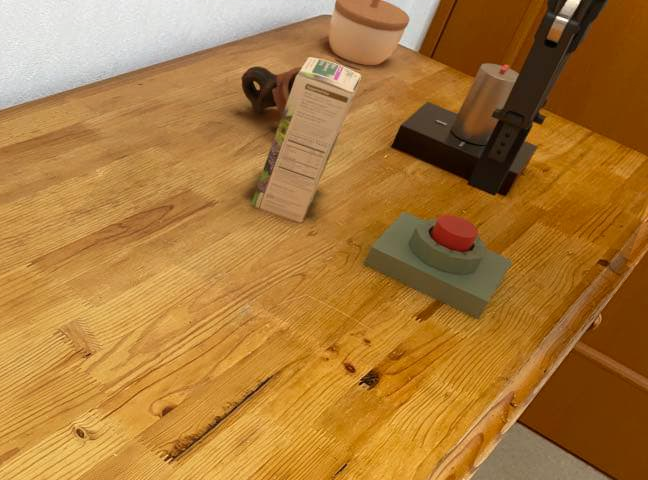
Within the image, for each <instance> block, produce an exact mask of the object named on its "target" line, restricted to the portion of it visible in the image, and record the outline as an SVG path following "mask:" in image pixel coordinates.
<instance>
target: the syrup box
mask: <svg viewBox="0 0 648 480" xmlns="http://www.w3.org/2000/svg"><path fill="white" fill-rule="evenodd" d="M301 67H302V68H301V70H300V71H299V73H298V75H297V76H296V78H295V81H294V84H293V86H292V89H291V92H290V95H289V98H288V101H287V104H286V106H285V109H284V112H283V115H282V116H281V117H280V120H279V124H278V126H277V128H276V130H277V132H276V131H275V133H276V135H274V138H273V141H272V143H271V146H270V149H269V152H268V155H267V158H266V160H265V163H264V166H263V169H262V172H261V175H260V177H259V181H258V183H257V186H256V189H255V192H254V195H253V197H252V201H251V203H250V205H251V207H252V208H254V209H257V210H260V211H264V212H266V213H269V214H272V215H274V216H277V217H280V218H284V219H287V220H290V221H292V222H296V223H298V224H303V222H304V219H305V217H306V215H307V213H308V210H309V208H310V206H311V204H312V202H313V199H314V197H315V194H316V192H317V189H318V187H319V185H320V182H321V180H322V178H323V175H324V172H325V170H326V167H327V164H328V163H329V160H330V157H331V155H332V153H333V150H334V148H335V145H336V143H337V140H338V138H339V135H340V132H341V131H342V127H343V125H344V123H345V120H346V117H347V115H348V112H349V110H350V108H351V105H352V103H353V100H354V98H355V96H356V95H355V94H356V92H357V89H358V87H359V85H360V82H361V79H362V77H363V76H362V75H361V74H360V73H359V72H356V71H355V70H354V69H353V70H352V69H351V68H349V67H347V66H345V65H342V64H338V63H335V62H333V61H330V60H326V59H323V58H318V57H311V56H308V57H307V58H306V61H305V62H304V63H303V65H302V66H301Z"/></svg>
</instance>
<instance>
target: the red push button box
mask: <svg viewBox="0 0 648 480" xmlns="http://www.w3.org/2000/svg"><path fill="white" fill-rule="evenodd" d="M437 220H438V218H430V219H422V218H420V217H418V216H416V215H414V214H411V213H409V212H407V211H405V210H404V211H402V212H401V214H399V216H398V217H397V218H396V219H395V220H394V221H393V222H392V223H391V224H390V226H388V228H387V229H386V230H385V231H384V232H383V233H382V234H381V235H380V237H379V238H377V240H376V241H374V243H373V244H372V245H371V246H370V248H369V250H368V252H367V255H366V257H365V259H364V262H363V265H364V266H366V267H369V268H370V269H372V270H375V271H376V272H379V273H380V274H383V275H385V276H387V277H389V278H391V279H392V280H395V281H397V282H399V283H401V284H403V285H405V286H408V287H410V288H412V289H413V290H416V291H418V292H420V293H422V294H424V295H426V296H428V297H430V298H432V299H434V300H436V301H439V302H440V303H442V304H444V305H447V306H449V307H451V308H452V309H455V310H457V311H459V312H461V313H463V314H465V315H468V316H470V317H472V318H473V319H476V320H479V319H480V317H481V315H482V314H483V312H484V310H485V309H486V307H487V305H488V304H489V302H490V300H491V299H492V297H493V295H494V293H495V292H496V291H497V289H498V287H499V285H500V284H501V282H502V281H503V279H504V277H505V275H506V274H507V272H508V270H509V269H510V267H511V265H512V264H513V262H514V260H513V259H510V258H509V257H505V256H503V255H501V254H499V253H497V252H495V251H493V250H490V249H488V248H487V246H486V244H485V242H484V240H483V239H482V238H481V237H479V235H477V237H476V239H475V241H474V243H473V244H472V246H471V248H470V250H469V251H467V252H458V251H453V250H450V249H448V248H446V247H443V246H441V245H439V244H438V243H437V242H435V241H434V240H433V239H432V238H431V236H430V234H431V232H432V230H433V228H434V226H435V224H436V222H437Z"/></svg>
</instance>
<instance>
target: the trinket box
mask: <svg viewBox="0 0 648 480" xmlns="http://www.w3.org/2000/svg"><path fill="white" fill-rule="evenodd" d="M409 22H410V16H409V14H408V13H407V12H406V11H405V10H403V9H402V8H400V7H398V6H397V5H395V4H393V3H390V2H388V1H385V0H336V1H335V4H334V9H333V11H332V15H331V18H330V22H329V25H328V43H329V47H330V50H331V51H332V52H333V53H334V54H335V55H336V56H338V57H339V58H341V59H344V60H345V61H348V62H351V63H355V64H359V65H363V66H379V65H380V64H382V63H383V62H385V61H386V60H387V59H388V58H389V57H390V56H391V55H392V54H393V53H394V52H395V50H396V48H397V47H398V45H399V43H400V41H401V39H402V37H403V35H404V33H405V30H406V28H407V27H408V25H409ZM334 60H335V61H336V62H337V63H339V64H340V65H341V66H344V67H346V68H349V69H353V70H358V71H361V69H360V68H358V67H355V66H353V65H351V64H348V63H345V62H343V61H341V60H338V59H335V58H334Z"/></svg>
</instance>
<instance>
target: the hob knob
mask: <svg viewBox="0 0 648 480" xmlns="http://www.w3.org/2000/svg"><path fill="white" fill-rule="evenodd" d="M518 75H519V73H518V72H517V71H515V70H513V69H512V68H510V65H509V64H506V63H504V65H501V64H500V65H499V64H496V63H488V62H487V63H481V65H480V67H479V69H478V71H477V73H476V75H475V77H474V79H473V82H472V83H471V86H470V88H469V90H468V92H467V94H466V96H465V98H464V100H463V102H462V105H461V106H460V109H459V111H458V113H457V114H458V115H457V117H456V119H455V121H454V123H453V125H452V127H451V131H452V133H453V134H454V135H456V136H457V137H458V138H460V139H462V140H464V141H467V142H469V143H473V144H478V145H486V144H487V142H488V140H489V138H490V136H491V134H492V132H493V130H494V128H495V126H496V124H497V122H498V119H495V118H493V117H492V114H493V112H494V111H495V110H496V109H500V110H501V109H503V107H504V105H505V103H506V101H507V99H508V96H509V94H510V92H511V90H512V88H513V86H514V84H515V81H516V79H517V77H518Z"/></svg>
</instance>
